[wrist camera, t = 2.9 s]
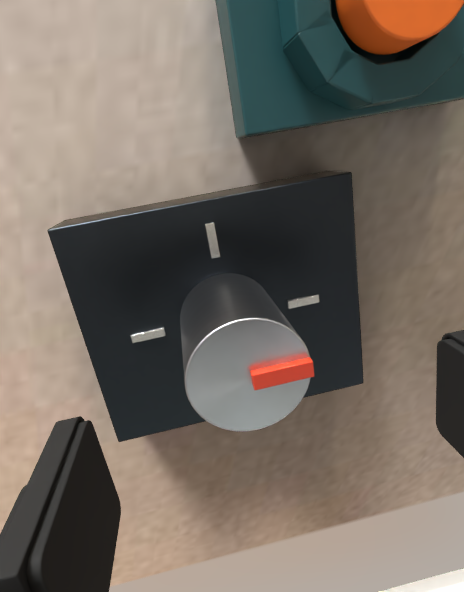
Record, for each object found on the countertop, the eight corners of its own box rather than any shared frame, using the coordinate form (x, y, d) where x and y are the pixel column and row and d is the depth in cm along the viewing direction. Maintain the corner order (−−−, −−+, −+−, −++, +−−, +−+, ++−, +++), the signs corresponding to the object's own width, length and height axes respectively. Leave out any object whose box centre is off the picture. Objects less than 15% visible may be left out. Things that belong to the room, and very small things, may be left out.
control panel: (124, 410, 20) (117, 445, 18) (63, 220, 17) (45, 230, 14) (342, 359, 21) (365, 385, 19) (328, 170, 18) (353, 171, 15)
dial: (190, 368, 17) (199, 451, 12) (170, 283, 16) (171, 339, 11) (277, 348, 17) (321, 421, 12) (265, 263, 16) (308, 309, 11)
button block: (236, 139, 17) (255, 132, 13) (205, -63, 14) (218, -143, 11) (450, 101, 18) (526, 85, 14) (455, -95, 15) (549, -179, 11)
